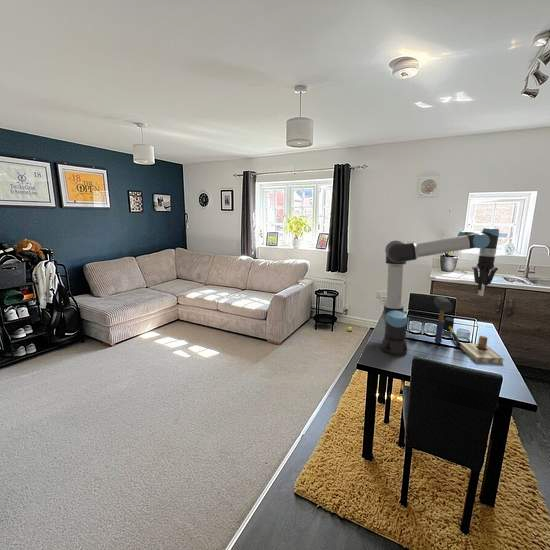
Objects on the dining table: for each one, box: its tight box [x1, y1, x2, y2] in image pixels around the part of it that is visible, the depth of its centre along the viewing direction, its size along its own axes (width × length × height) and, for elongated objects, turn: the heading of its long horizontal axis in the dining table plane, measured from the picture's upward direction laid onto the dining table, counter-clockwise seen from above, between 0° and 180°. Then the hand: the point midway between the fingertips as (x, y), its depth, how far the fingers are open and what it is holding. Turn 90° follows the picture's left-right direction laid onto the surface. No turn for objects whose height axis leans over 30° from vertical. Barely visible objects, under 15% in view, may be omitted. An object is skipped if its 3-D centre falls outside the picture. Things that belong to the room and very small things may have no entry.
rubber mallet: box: [433, 295, 453, 344], centre depth 187 cm, size 12×8×30 cm, turn 171°
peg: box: [477, 335, 489, 350], centre depth 177 cm, size 4×4×10 cm
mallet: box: [443, 317, 462, 348], centre depth 198 cm, size 29×6×10 cm, turn 164°
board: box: [459, 342, 504, 364], centre depth 175 cm, size 14×18×3 cm
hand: (480, 295), depth 175 cm, fingers closed
